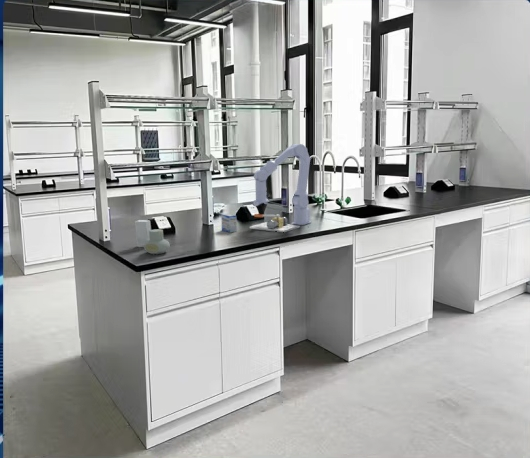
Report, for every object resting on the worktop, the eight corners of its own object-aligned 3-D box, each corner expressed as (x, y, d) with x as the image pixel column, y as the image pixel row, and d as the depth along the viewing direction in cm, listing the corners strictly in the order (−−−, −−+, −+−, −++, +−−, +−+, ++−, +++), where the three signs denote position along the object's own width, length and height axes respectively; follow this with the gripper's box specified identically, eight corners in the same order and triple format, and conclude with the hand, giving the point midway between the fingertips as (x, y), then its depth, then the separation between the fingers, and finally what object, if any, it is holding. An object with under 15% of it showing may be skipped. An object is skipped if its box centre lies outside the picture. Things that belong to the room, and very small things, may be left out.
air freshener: (173, 251, 213) (171, 229, 211) (163, 255, 205) (162, 232, 203) (151, 249, 216) (150, 228, 214) (141, 254, 209) (139, 231, 207)
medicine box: (221, 230, 257) (220, 214, 255) (228, 229, 260) (227, 213, 258) (230, 232, 251) (229, 216, 249) (237, 231, 254) (236, 215, 252)
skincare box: (152, 245, 225) (151, 220, 222) (148, 247, 220) (146, 221, 218) (141, 245, 226) (139, 219, 224) (136, 247, 222) (134, 221, 220)
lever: (280, 216, 260) (280, 214, 260) (279, 217, 257) (279, 215, 257) (255, 216, 263) (255, 213, 263) (254, 217, 261) (254, 214, 261)
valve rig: (266, 223, 273) (266, 213, 272) (299, 227, 261) (299, 216, 259) (249, 228, 260) (249, 217, 259) (283, 232, 248) (283, 221, 247)
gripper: (260, 190, 269) (260, 214, 271) (248, 193, 256) (248, 219, 259) (271, 191, 266) (272, 215, 268) (260, 194, 253) (260, 219, 256)
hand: (261, 217), depth 263 cm, fingers closed
